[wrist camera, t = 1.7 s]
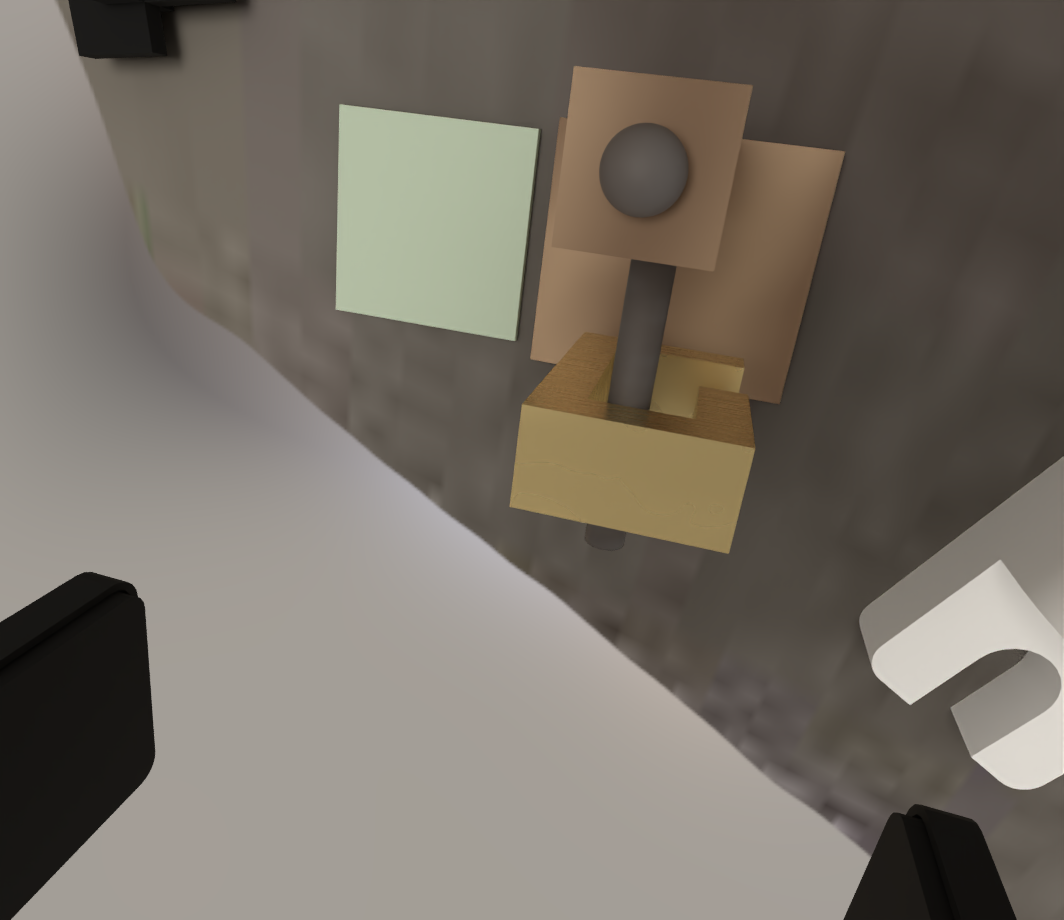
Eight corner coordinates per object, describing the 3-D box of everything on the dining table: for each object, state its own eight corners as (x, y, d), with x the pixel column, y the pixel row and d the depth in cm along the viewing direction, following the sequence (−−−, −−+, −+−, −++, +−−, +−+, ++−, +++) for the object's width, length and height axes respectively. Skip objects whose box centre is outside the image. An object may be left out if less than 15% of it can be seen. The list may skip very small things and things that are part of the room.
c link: (743, 358, 27) (755, 448, 18) (725, 434, 29) (728, 553, 20) (584, 331, 28) (522, 404, 19) (573, 405, 30) (509, 506, 21)
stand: (840, 152, 29) (1047, 107, 10) (766, 438, 33) (818, 762, 15) (565, 119, 31) (325, 31, 12) (531, 394, 35) (318, 631, 17)
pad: (541, 129, 31) (538, 129, 31) (516, 339, 35) (514, 341, 34) (343, 105, 33) (339, 104, 32) (339, 308, 36) (335, 309, 36)
